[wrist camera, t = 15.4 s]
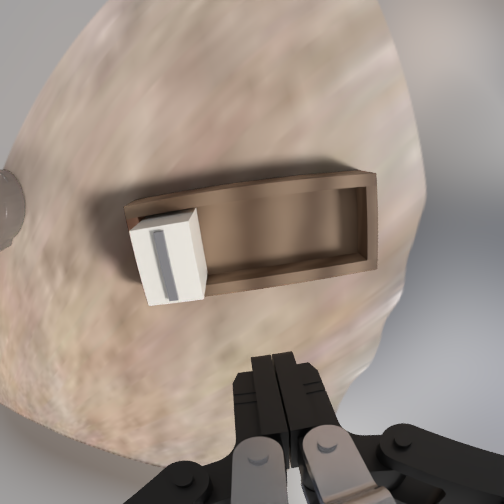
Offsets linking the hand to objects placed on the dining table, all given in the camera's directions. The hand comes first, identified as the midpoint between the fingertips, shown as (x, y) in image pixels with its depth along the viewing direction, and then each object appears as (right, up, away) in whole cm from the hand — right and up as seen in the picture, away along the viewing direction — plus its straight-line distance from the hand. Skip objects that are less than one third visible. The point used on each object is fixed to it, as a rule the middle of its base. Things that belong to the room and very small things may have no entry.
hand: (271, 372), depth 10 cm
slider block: (-8, +5, +19) cm, 21 cm away
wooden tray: (0, +7, +21) cm, 22 cm away
